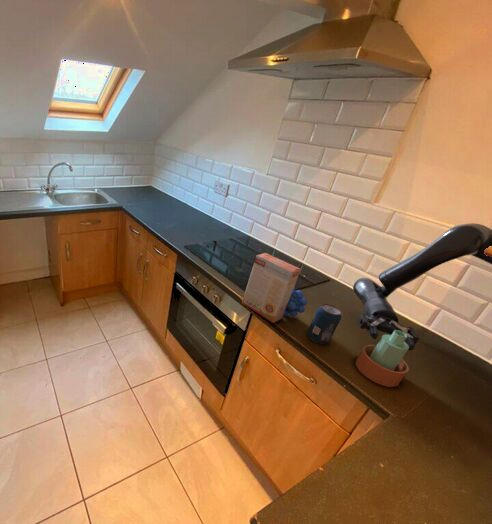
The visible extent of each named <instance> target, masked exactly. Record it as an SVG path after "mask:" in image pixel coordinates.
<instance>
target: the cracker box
mask: <svg viewBox="0 0 492 524" xmlns="http://www.w3.org/2000/svg"><path fill="white" fill-rule="evenodd" d="M300 273H301V268H299V267H298V266H295V265H294V264H291V263H289V262H287V261H284V260H281V259H280V258H278V257H275V256H274V255H271V254H270V253H267V252H264V253H260V254H256V256H255V258H254V263H253V266H252V269H251V272H250V275H249V278H248V281H247V284H246V288H245V291H244V294H243V298H242V300H241V304H243V305H244V306H245V307H247V308H248V309H250V310H252V311H253V312H255V313H257V314H258V315H259V316H261V317H263V318H264V319H266V320H267V321H269V322H270V323H272V324H274V323H276V322H278V321H280V320H282V319H283V316H284V315H283V314H284V312H285V309H286V307H287V304H288V301H289V299H290V296H291V294H292V291H293V289H295V287H296V284H297V281H298V278H299V276H300Z"/></svg>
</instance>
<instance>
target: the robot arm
mask: <svg viewBox="0 0 492 524" xmlns="http://www.w3.org/2000/svg"><path fill="white" fill-rule="evenodd" d="M489 246H492V228H490V227H488V226H486V225H483V224H480V223H473V222H472V223H463V224H462V223H461V224H458V225H455V226H452V227H450V228H449V229H448V230H447V231H446V232H444V233H443V234H441V235H440V236H439V237H438V238H435V240H434V241H432V242H431V243H430V244H429V245H427V246H425V247H424V248H423V249H421V250H419V251H418V252H416V253H414V254H413V255H411V256H409V257H408V258H405V259H403V260H402V261H400V262H398V263H396V264H394V265H392V266H390V267H388V268H387V269H385V270H384V271H382V272H380V273H379V274H378V280H379V282H380V283H381V284H382V286H381V285H380V284H379V283H377V282H375V281H374V280H373V279H371V278H369V277H360V278H357V280H356V281H354V283H353V286H352V290H353V293H354V295H356V297H357V298H358V300H360V301H361V303H362V306H363V308H364V312H361V313H360V314H359V317H358V318H357V321H358V325H359V329H362V330H366V331H367V332H368V334H369V336H370V337H371V338H372V339H373V340H377V339H378V337H379V335H380V333H379V331H380V332H381V333H385V334H387V335H392V333H393V332H394V330H398V331H401V332H403V333H405V334H406V335H407V338H406V340H405V341H404V342H405V343H406V344H407V345H408V346H409V349H408V350H407V351H413V350H415V348H416V346H417V343H418V341H419V340H420V339H421V338H420V336H419V334H418V333H417V332H416V330H415V329H414V328H413V327H412V326H407V327H404V326H402V325H401V324H400V322H399V318H398V315H397V313H396V311H395V310H394V308H393V306H392V305H391V303H390V302H389V300H388V299H387V298H388V297H389V296H390V295H391V294H393V293H394V292H395V291H396V290H398V289H399V288H401V287H403V286H405V285H407V284H409V283H412V282H413V281H415V280H417V279H418V278H420V277H422V276H423V275H425V274H426V273H428V272H430V271H431V270H433V269H435V268H436V267H438V266H440V265H443V264H446V263H448V262H451V261H453V260H456V259H459V258H463V257H465V256H466V257H467V256H472V257H475V258H477V259H479V260H481V261H483V262H486V263H488V264H489V265H492V257H490V256H486V255H485V254H484V250H485V249H486V248H488V247H489Z"/></svg>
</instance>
